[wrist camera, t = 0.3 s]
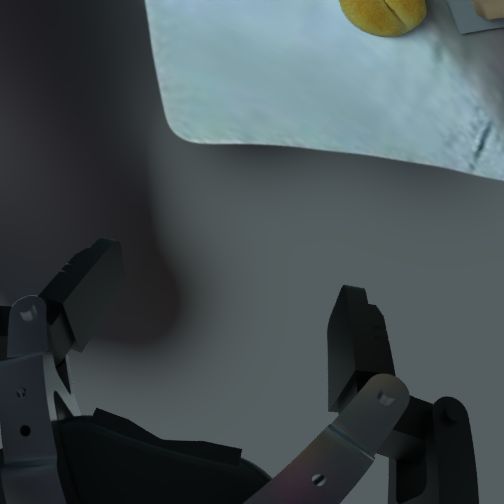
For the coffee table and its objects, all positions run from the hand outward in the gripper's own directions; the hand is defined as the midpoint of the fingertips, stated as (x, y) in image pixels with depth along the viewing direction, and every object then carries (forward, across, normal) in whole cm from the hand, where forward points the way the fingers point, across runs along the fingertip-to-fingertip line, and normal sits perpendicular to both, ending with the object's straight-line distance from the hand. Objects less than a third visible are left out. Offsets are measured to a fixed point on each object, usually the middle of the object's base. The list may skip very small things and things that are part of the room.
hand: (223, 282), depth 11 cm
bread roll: (+26, -8, -18) cm, 33 cm away
